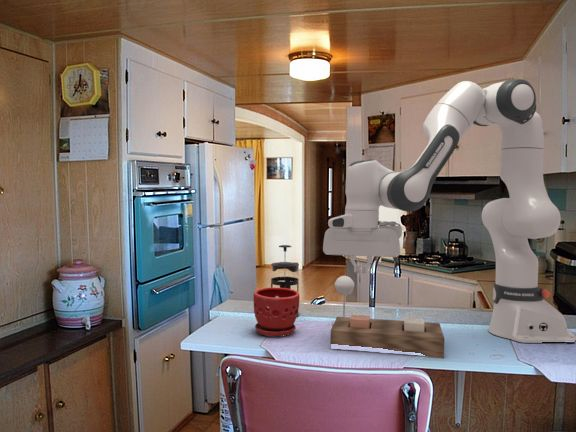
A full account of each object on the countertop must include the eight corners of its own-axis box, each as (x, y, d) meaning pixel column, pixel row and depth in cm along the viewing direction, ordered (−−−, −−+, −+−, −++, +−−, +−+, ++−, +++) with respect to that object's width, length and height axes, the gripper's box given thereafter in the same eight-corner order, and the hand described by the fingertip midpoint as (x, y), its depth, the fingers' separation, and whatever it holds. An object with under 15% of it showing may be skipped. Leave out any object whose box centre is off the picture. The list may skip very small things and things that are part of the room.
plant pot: (245, 336, 138) (245, 294, 138) (264, 324, 151) (264, 285, 150) (289, 342, 134) (290, 298, 133) (305, 329, 146) (305, 288, 145)
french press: (296, 320, 156) (297, 247, 154) (267, 319, 157) (267, 246, 156) (301, 311, 167) (302, 243, 166) (274, 310, 169) (274, 242, 167)
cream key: (423, 332, 132) (423, 319, 132) (424, 337, 127) (424, 323, 127) (403, 330, 133) (404, 317, 133) (404, 336, 128) (404, 322, 128)
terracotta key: (369, 328, 135) (370, 315, 135) (368, 333, 130) (369, 320, 130) (351, 327, 136) (351, 314, 136) (349, 332, 131) (349, 319, 131)
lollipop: (340, 328, 147) (341, 278, 146) (330, 323, 152) (330, 275, 151) (357, 326, 150) (358, 276, 149) (346, 321, 155) (347, 273, 154)
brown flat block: (439, 341, 136) (439, 323, 135) (443, 358, 122) (444, 338, 122) (336, 333, 141) (336, 316, 141) (330, 349, 128) (330, 330, 128)
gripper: (401, 220, 132) (400, 272, 133) (325, 219, 137) (325, 269, 137) (402, 222, 126) (401, 276, 127) (322, 220, 130) (321, 272, 131)
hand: (360, 272), depth 132 cm, fingers closed
